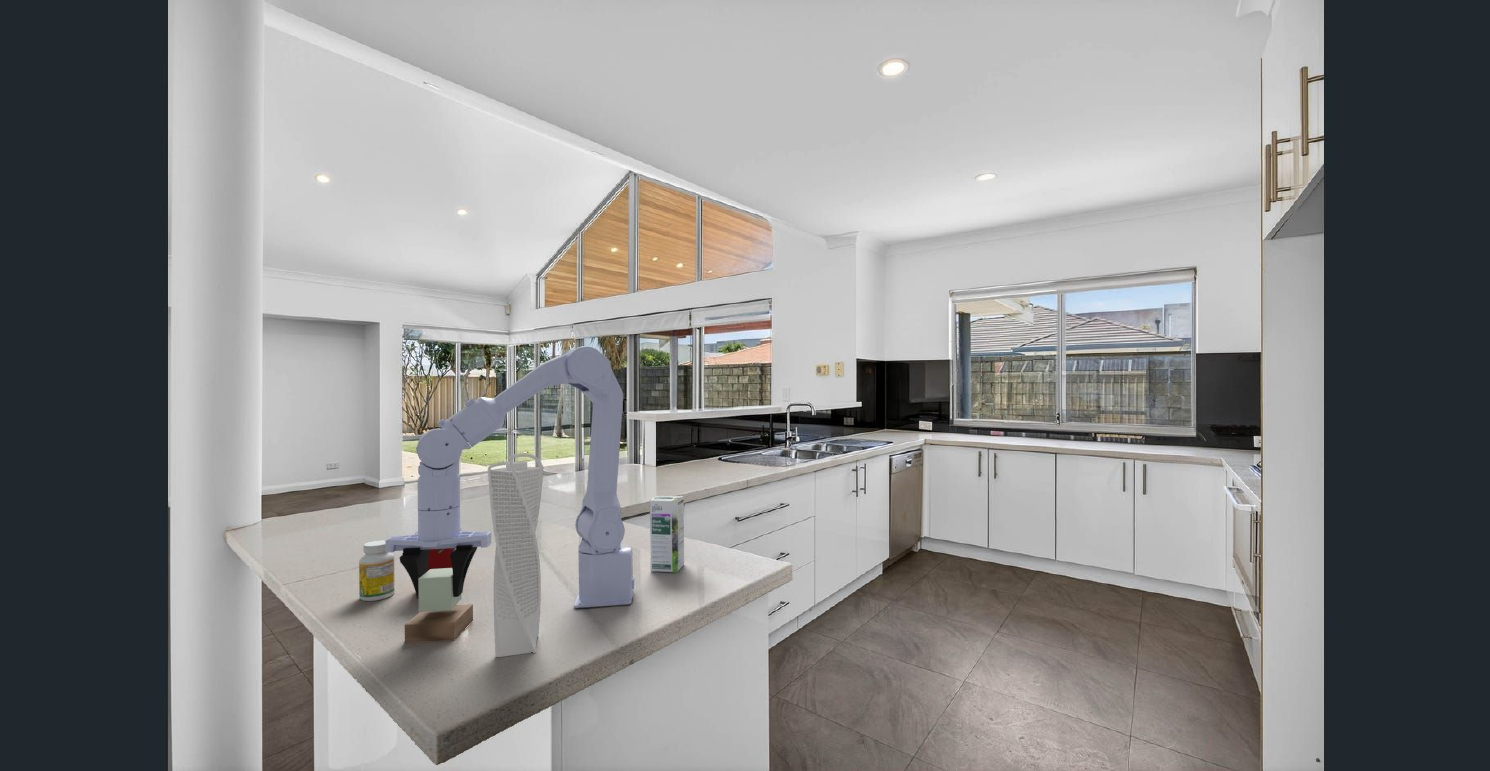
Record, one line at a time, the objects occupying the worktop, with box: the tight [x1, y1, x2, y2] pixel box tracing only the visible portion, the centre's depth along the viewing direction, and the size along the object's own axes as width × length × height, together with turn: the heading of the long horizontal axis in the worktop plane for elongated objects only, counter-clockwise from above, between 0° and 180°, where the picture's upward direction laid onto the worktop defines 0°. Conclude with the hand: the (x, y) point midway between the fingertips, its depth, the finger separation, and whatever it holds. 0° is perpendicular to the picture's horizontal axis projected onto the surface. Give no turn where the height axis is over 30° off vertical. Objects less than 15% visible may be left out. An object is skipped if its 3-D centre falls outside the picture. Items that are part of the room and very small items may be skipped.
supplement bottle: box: [358, 539, 396, 602], centre depth 102 cm, size 5×5×10 cm
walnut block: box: [404, 604, 474, 644], centre depth 86 cm, size 7×7×3 cm
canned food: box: [414, 527, 462, 572], centre depth 104 cm, size 8×8×11 cm
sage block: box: [418, 568, 462, 613], centre depth 87 cm, size 4×4×5 cm
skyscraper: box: [487, 452, 544, 658], centre depth 81 cm, size 8×8×28 cm
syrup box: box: [649, 495, 685, 573], centre depth 116 cm, size 6×6×14 cm
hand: (440, 595), depth 86 cm, fingers closed on sage block, 4 cm apart
